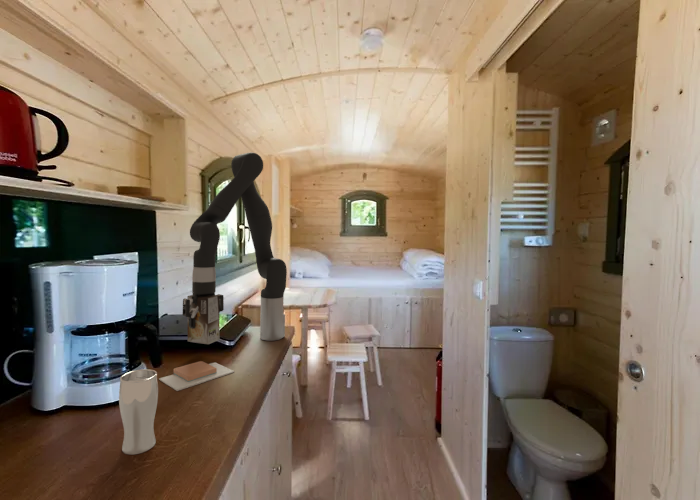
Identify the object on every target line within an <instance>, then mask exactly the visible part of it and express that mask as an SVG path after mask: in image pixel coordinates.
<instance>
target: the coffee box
mask: <svg viewBox="0 0 700 500" xmlns="http://www.w3.org/2000/svg"><path fill="white" fill-rule="evenodd" d="M192 296H193V294H191V295H187V298H186V299H191V298H192ZM219 302H220V295H217V294H215V295H208V296H201V297H198V298H197V305H195V304H194V302H193V303H192V302H191V305H190V310H191V309H192V308H195V309H196V308H197V306H198V305H199V308H198V309H199V312H197V314H196V315H195V317H194V318H195V328H194V329H191V328H190V327H189V325H188V323H189V322H188V321H187V342H190V343H196V344H204V345H210V344H212V343H215V342H218V341H220V312H219Z"/></svg>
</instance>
